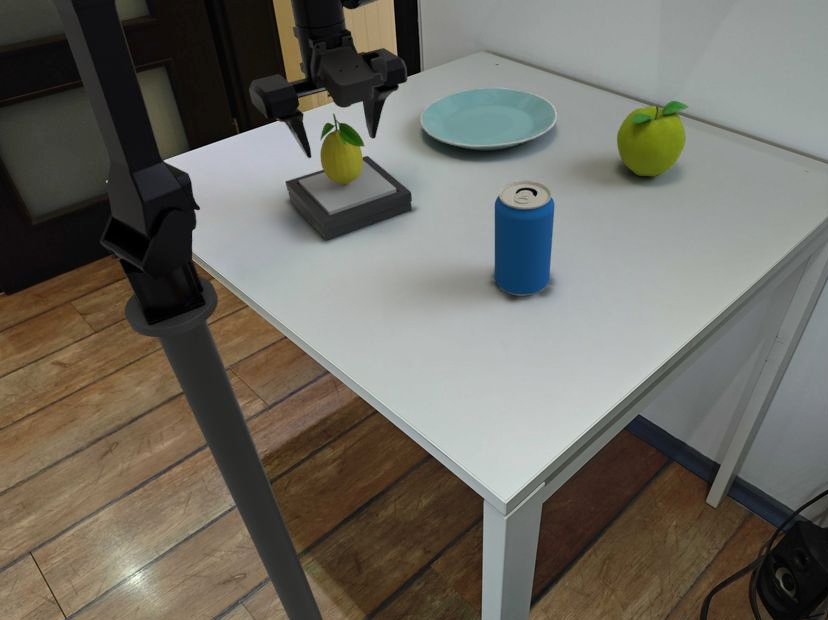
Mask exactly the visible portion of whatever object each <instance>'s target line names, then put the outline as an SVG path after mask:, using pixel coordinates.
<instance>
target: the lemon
mask: <svg viewBox="0 0 828 620" xmlns="http://www.w3.org/2000/svg"><path fill="white" fill-rule="evenodd" d="M332 115H333V121H334V124H332V123H331V122H327V123H325V124H324V126H322V130H321V135H320V139H319V140H320V141H322V140H323V139H324V140H323V141H322V145H321V147H320V153H319V154H320V164H321V168H322V170H324V172H325V174H326V175H327V177H328V178H330V179H331V180H332V181H334V182H337V183H343V184H345V185H346V184H349V182H351V181H354V180H355V179H357V178H358V176H359V175H360V173H361V171H362V167H363V158H362V157H363V153H362V149H361V147H365V143H364V140H363V139H362V137H361V136H360V134H359V133H358V131H356V129H354V127H352V126H351V125H349V124H348V123H345V122H339V121H338V120H337V119H336V113H332ZM334 127H335V129H334ZM333 129H334V131H332V130H333Z"/></svg>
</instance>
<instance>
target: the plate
mask: <svg viewBox="0 0 828 620" xmlns="http://www.w3.org/2000/svg"><path fill="white" fill-rule="evenodd" d="M557 120H558V112H557V109H556V107H555V106H554V105H553V104H552V102H550V101H549V100H548V99H546V98H544V97H543V96H541V95H537V94H535V93H532V92H529V91H525V90H521V89H516V88H509V87H490V86H489V87H477V88H469V89H465V90H459V91H456V92H455V91H454V92H452V93H449V94H446V95H444V96H441V97H439V98H437V99H435V100H434V101H432V102H430V103H428V105H426V106H425V107H424V108H423V110H422V112H421V114H420V116H419V123H420V127H421V128H422V129H423V131H424V132H425V133H426V134H427V135H428V136H430V137H432V138H433V139H435V140H437V141H439V142H441V143H445V144H447V145H451V146H454V147H459V148H462V149H467V150H473V151H499V150H504V149H510V148H513V147H516V146H518V145H521V144H523V143H526V142H529V141H532V140H535V139H537V138H540V137H542V136H543V135H545V134H546V133H549V131H550V130H551V129H552V128H553V127H554V126H555V124H556V122H557Z"/></svg>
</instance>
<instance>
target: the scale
mask: <svg viewBox="0 0 828 620" xmlns="http://www.w3.org/2000/svg"><path fill="white" fill-rule="evenodd" d="M362 158H363V161H365V162H366V163H367V164H368V165H369V166H370V167H372V168H373V169H374V170H375V171H376V172H378V173H379V174H380V175H381V176H382V177H383V178H385V179H386V180H387V181H388V182H389V183H390V184H392V185H393V186H394V187H395V188H396V190H397V192H396V193H393V194H390V195H387V196H384V197H381V198H379V199H376V200H373V201H370V202H367V203H364V204H361V205H358V206H355V207H352V208H350V209H347V210H344V211H341V212H338V213H335V214H332V215H329V216H328V215H327V214H326V213H325V212H324V211H323V210H322V209H321V208H320V207H319V206H318V205H317V204H316V203H315V201H314V200H313V199H312V198H311V197H310V196H309V195H308V194H307V193H306V192H305V191H304V190H303V189H302V188H301V187H300V185H299V180H301V179H305V178H308V177H311V176H314V175H317V174H320V173H324V170H323V169H321V170H317V171H313V172H312V173H308V174H304V175H302V176H299V177H295V178H292V179H289V180H286V181H285V187H286V191H287V192H288V197H289V201H290V203H291V204H292V205H293V207H295V208H296V209H297V210H298V212H299V213H300V214H301V215H302V216H303V217H304V218H305V220H306V221H308V223H309V224H310V225H311V226H312V227H313V228H314V229H315V231H316V232H317V233H318V234H319V235H320V236H321V237H322V238H323V240H325V241H328V240H331V239H334V238H337V237H340V236H343V235H345V234H348V233H351V232H353V231H356V230H357V231H358V230H360V229H362V228H365V227H367V226H371V225H372V224H375V223H379V222H382V221H384V220H388V219H390V218H392V217H395V216H398V215H401V214H404V213H407V212H409V211H412V201H413V199H412V198H413V197H412V192H411V191H410V190H409V189H408V188H407V187H406V186H405V185H403V184H402V183H401V182H400V181H398V180H397V179H396V178H395V177H394V176H392V175H391V174H390V173H389V172H388V171H387V170H385V169H384V167H382V166H380V165H379V163H377V162H376V161H375V160H374V159H372V158H371V157H370V156H369V155H365V156H362Z"/></svg>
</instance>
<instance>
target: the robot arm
mask: <svg viewBox="0 0 828 620" xmlns="http://www.w3.org/2000/svg"><path fill="white" fill-rule="evenodd" d="M51 1H52V3H53V5H54V7H55V8H56V11H57V13H58V17H59V20H60V22H61V25H62V29H63V31H64V33H65V36H66V40H67V42H68V45H69V48H70V51H71V53H72V56H73V59H74V62H75V64H76V67H77V71H78V73H79V76H80V79H81V81H82V84H83V87H84V90H85V93H86V96H87V99H88V101H89V104H90V106H91V110H92V113H93V115H94V118H95V121H96V124H97V127H98V130H99V132H100V135H101V138H102V141H103V144H104V146H105V149H106V152H107V155H108V157H109V158H108V159H109V168H108V175H107V180H106V190H107V195H108V199H109V200H108V201H109V205H110V211H111V213H110V215H109V217H108V220H107V222H106V225H105V228H104V230H103V232H102V235H101V237H100V240H99V243H100V244H101V245H102V246H103V247H104V248H105V249H106V250H107V251H108V252H109V253H110V254H112V255H114V256H117V257H118V258H120V259H118V261H119V264H120V266H121V268H122V270H123V273H124V274H125V277H126V279H127V280H128V283H129V285H130V287H131V289H132V291H133V294H134V293H135V294H134V296H135V298H136V301H137V303H138V305H139V307H140V309H141V311H142V313H143V316H144V318H145V320H146V322H147V324H148V325H154V324H157V323H159V322H162V321H165V320H167V319H170V318H173V317H176V316H178V315H181V314H184V313H186V312H189V311H192V310H194V309H197V308H200V307H202V306H204V305H205V304H206V302H205V300H204V298H203V296H202V295H201V292H203V290H204V289H203V286H202V283H201V281H200V278H199V276H200V274H199V273H198V271H197V268H196V265H195V262H194V260H193V232H194V230H196V229H197V223H198V221H197V213H196V211H200V210H201V206H200V205H199V204H198V203H197V202H196V198H195V196H194V193H193V192H194V191H193V184H192V183H193V182H192V179H191V177H190V174H189V173H188V172H186V171H185V170H182V169H180V168H178V167H176V166H174V165H171V164H170V163H168V162H165V161H164V159H163V157H162V154H161V151H160V148H159V144H158V141H157V137H156V134H155V131H154V127H153V124H152V121H151V118H150V114H149V111H148V108H147V105H146V101H145V98H144V94H143V91H142V88H141V83H140V81H139V79H138V74H137V70H136V68H135V64H134V61H133V58H132V55H131V52H130V51H131V50H130V48H129V44H128V41H127V37H126V34H125V31H124V28H123V24H122V21H121V18H120V15H119V11H118V6H117V0H51ZM377 1H378V0H290V4H291V10H292V16H293V20H294V25H295V26H293V27H292V31H293V36H294V37H295V38H296V39H297V41H298V46H299V47H298V48H299V52H300V57H301V61H302V62H299V67H300V71H301V73H303V74H304V77H305V78H301V79H297V80H293V81H288V79H286V78H285V77H283V76H282V75H281V74H279V73H277V74H274V75H273V74H272V75H270V76H266V77H262V78H257V79H253V80H251V82H250V85H249V88H248V92H249V96H250V100H251V104H252V105H253V106H254V107H255V108H256V109H257V110H258V111H259V112H260V113H261V114H262V115H263V116H265V118H267V119H274V120H275V119H276V120H277V121H278V122H279V123H284V124H285V126H287V129H289V131H290V134H292V136H293V138H294V139H295V141H296V143H297V144H298V145H299V147H300V149H301V150H302V152H303V155H305V157H306V158H307V159H311V158H312V150H311V145H310V142H309V139H308V135H307V131H306V127H305V124H304V112H302V111H301V110H300V109H299V106H300V101H299V99H300V98H301V99H302V98H305V97H309V96H312V95H315V94H320V93H323V92H326V91H327V93H328V95H329V96H330V97H331V99H332V101H333V103H334V104H335V106H336V107H339V108H342V109H343V108H345V109H346V108H349V107H351V106H352V105H354V104H358V103H361V102H362V106H363V112H364V114H363V115H364V119H365V126H366V129H367V132H368V136H369V137H370V138H371V139H376V137H377V132H378V129H379V124H380V121H381V116H382V112H383V109H384V106H385V103H386V100H387V98H388V97H390V95H391V94H393V92H397V91H398V90H399V87H400V85H402V84H404V83H405V84H406V83H407V81H408V69H407V68H408V67H407V65H406V63H405V60H403V59H402V58H401V57H400V56H398V55H396V54H395V53H394V52H391V51H390V50H388V49H386V48H385V47H382V48H378V49H374V50H370V51H366V52H365V51H361V52H358V50H357V49H356V46H355V44H354V38H353V35H352V31H351V30H349V29H348V28H347V24H346V18H345V17H346V16H345V11H344V8H345V9H347V10H357V9H358V8H362V7H364V6H367V5H369V4H371V3H374V2H377Z"/></svg>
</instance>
